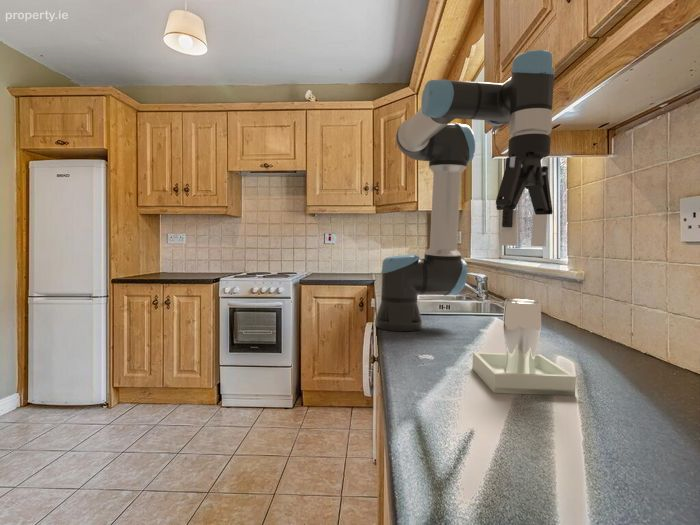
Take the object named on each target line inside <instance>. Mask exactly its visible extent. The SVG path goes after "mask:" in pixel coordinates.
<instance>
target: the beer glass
mask: <svg viewBox="0 0 700 525" xmlns="http://www.w3.org/2000/svg"><path fill="white" fill-rule="evenodd" d="M504 301H505V302H504V309H503V317H502V318H503V319H502V322H503V323H502V324H503V325H502V329H503V330H502V331H503V339H504V346H505V354H506V363H505V367H504V371H503V373H518V374H536V371H535V354H536V352H537V348H538V345H539V344H538V343H539V340H540V336H541V330H542V329H541V328H542V308H541V307H542V303H541V301H538V300H532V299H525V298H524V299H522V298H521V299H520V298H509V299H508V298H507V299H505V300H504ZM536 355H537V354H536Z"/></svg>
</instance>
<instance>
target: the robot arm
mask: <svg viewBox="0 0 700 525" xmlns="http://www.w3.org/2000/svg"><path fill="white" fill-rule="evenodd" d="M552 54H553V53H552V52H550V51H549V50H545V49H532V50H528V51H524V52H522V53H519V54H518V55H516V56H515V57H514V59H513V60H512V65H511V70H510V73H511V77H510V78H508V80H506V81H505V82H503V83H497V82H482V81H480V82H479V81H466V80H464V81H463V80H455V79H454V80H453V79H451V80H450V79H444V78H441V79H431V80H428V81H427V82H426V84H425V85H424V89H423V91H422V93H421V94H422V95H421V102H420V104H421V105H420V106H421V107H420V108H418V110H417V111H416V112H415V113H414V114H413V116H412V117H410V118H408V119H405V120H404V121H403V122H402V123H401V124H400V126H399V127H398V128H397V130H396V134H395V141H396V145H397V147H398V150H400V152H401V153H402V154H403V155H405V156H406V157H408V158H409V159H412V160H415V161H418V162H419V161H420V162H422V161H423V162H428V169H430V171H431V172H432V175H433V178H432V196H431V198H432V199H431V218H430V234H429V235H430V236H429V248H428V249H427V250H426V251H425V252H424V257H423V258H420V256H419V254H418V253H416V254H414V253H413V254H401V255H393V256H388V257H386V258H384V259H383V261H382V266H381V290H380V292H381V297H380V298H381V299H380V305H379V307H378V310H377V313H376V316H375V321H374V323H375V324H374V325H375V327H376V328H378V329H381V330H385V331H391V332H392V331H393V332H414V331H419V330H422V329H423V319H422V316H421V312H420V308H419V305H418V296H419V295H422V296H423V295H425V296H426V295H433V296H435V295H436V296H440V295H441V296H452V295H458V294H460V293H461V292H462V290H463V289H464V287H465V286H466V283H467V282H466V281H467V278H468V264H467V262H466V261H465V260H464V259H462V253H460V251H459V250H458V233H459V220H460V218H459V216H460V200H461V187H462V186H461V184H462V173H463V172H464V171H465V170H466V169H467V166H468V164H469V163H471V162H473V160H474V156H475V155H474V154H475V152H476V140H475V134H474V132H473V131H474V130H472V128H471V126H469V125H468V124H463V123H462V124H461V123H457V122H454V123H452V121H454V120H457V119H459V120H474V121H475V120H476V121H477V120H478V121H484V122H486V124H489V125H491V126H494V127H499V126H503V125H506V124H508V125H507V127H508V128H509V129H508V130H509V133H508V134H509V137H510V139H508V146H507V147H508V150H507V156H508V157H506V160H505V161H506V162H505V169H504V172H503V174H502V175H503V176H502V179H501V181H500V182H501V183H500V186H499V189H498V193H497V195H496V199H495V205H496V207H495V208H496V210H497V211H501V225H500V226H501V227H500V228H501V229H500V230H501V231H500V233H501V234H500V246H507V247H508V246H509V247H510V246H511V247H516V246H517V245H518V244H517V242H518V241H517V240H518V224H519V223H518V221H519V209H516V208H517V205H518V204H519V201H520V200H521V197H522V194H524V193H523V192H524V190H525V189H526V190H528V194H529V197H530V201H531V204H532V208H533V212H534V214H532V218H531V237H530V238H531V239H530V246H531V247H546V246H547V245H546V244H547V229H548V228H547V227H548V225H547V224H548V215H553V204H552V198H551V197H552V196H551V191H550V190H551V189H550V183H549V182H550V181H549V166H548V165H542V161H541V160H542V159H543V158H547V157H549V156H550V154H551V144H552V143H551V141H552V139H551V136H550V134H551V133H552V126H553V125H552V124H553V102H554V101H553V100H554V87H555V86H554V84H555V74H556V72H555V71H554V72H553V69H552Z"/></svg>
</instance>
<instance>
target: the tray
mask: <svg viewBox="0 0 700 525" xmlns="http://www.w3.org/2000/svg"><path fill="white" fill-rule="evenodd" d="M505 363H506V353H497V352H495V353H494V352H472V370H473V371H474V372H475V373H476V374H477V375H478V376H479V378H480V379H481V380H482V381H483V383H485V384H486V386H487V387H488V388H489V389H490V390H491V391H492V392H493V393H494V394H511V395H512V394H513V395H514V394H517V395H518V394H519V395H541V396H542V395H544V396H545V395H546V396H547V395H548V396H576V386H577V385H576V384H577V383H576V382H577V376H576V375H574V374H573V373H571V372H569V371H568V370H567V369H565V368H563V367H562V366H560V365H558V364H556V363H555V362H553V361H552V360H550V359H548V358H547V357H545V356H544V355H542V354H535V371H536V374H518V373H503V371H504V367H505Z"/></svg>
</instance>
